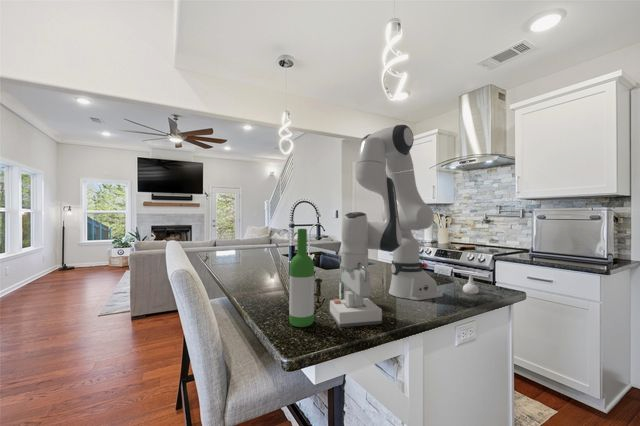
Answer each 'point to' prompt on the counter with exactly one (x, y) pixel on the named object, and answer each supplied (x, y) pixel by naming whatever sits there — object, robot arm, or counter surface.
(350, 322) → the socket block
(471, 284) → the garlic bulb
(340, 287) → the syrup box
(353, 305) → the plug
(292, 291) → the wine bottle
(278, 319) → the counter surface
